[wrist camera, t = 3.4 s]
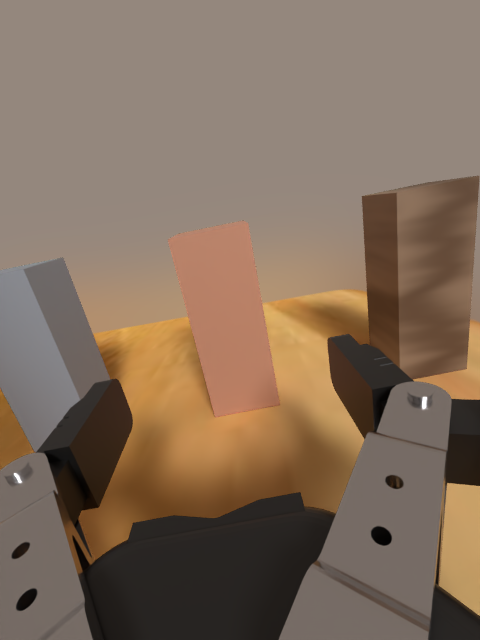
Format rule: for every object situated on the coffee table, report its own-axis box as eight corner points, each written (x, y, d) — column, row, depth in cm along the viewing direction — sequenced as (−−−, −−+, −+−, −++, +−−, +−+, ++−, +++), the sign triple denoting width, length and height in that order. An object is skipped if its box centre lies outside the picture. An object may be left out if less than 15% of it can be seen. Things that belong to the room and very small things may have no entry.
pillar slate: (34, 451, 21) (-55, 285, 17) (65, 411, 26) (0, 270, 21) (98, 439, 21) (23, 269, 17) (118, 401, 25) (63, 257, 21)
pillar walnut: (399, 381, 21) (396, 192, 17) (370, 352, 25) (361, 196, 21) (466, 368, 21) (479, 175, 17) (425, 341, 25) (427, 182, 21)
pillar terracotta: (215, 417, 21) (167, 239, 17) (216, 382, 25) (179, 233, 21) (279, 404, 21) (248, 223, 17) (270, 372, 25) (243, 220, 21)
